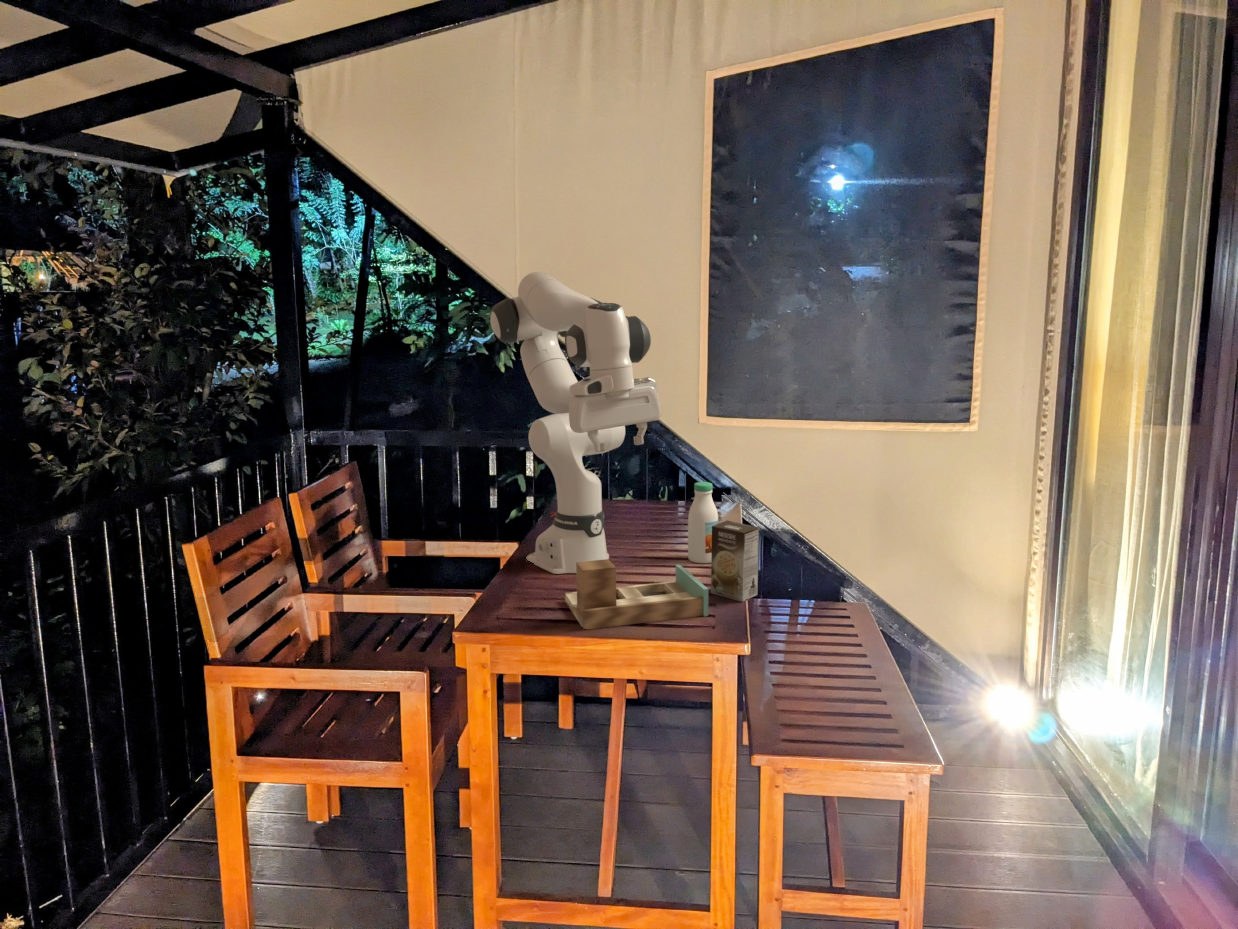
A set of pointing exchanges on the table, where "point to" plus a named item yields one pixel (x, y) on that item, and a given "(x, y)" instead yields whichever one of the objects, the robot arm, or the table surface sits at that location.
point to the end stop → (692, 586)
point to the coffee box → (734, 560)
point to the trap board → (639, 606)
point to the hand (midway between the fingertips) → (619, 448)
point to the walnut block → (595, 584)
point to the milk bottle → (701, 524)
